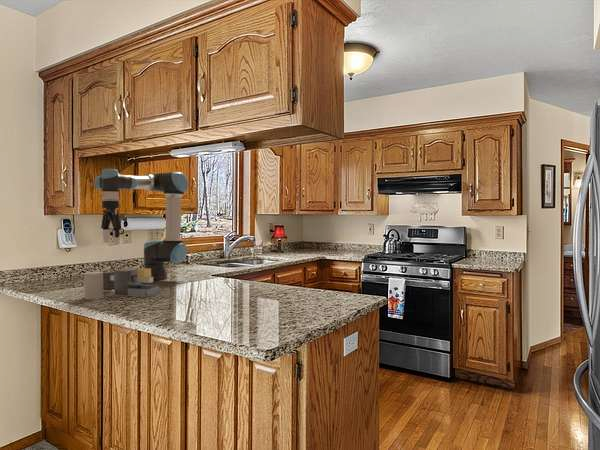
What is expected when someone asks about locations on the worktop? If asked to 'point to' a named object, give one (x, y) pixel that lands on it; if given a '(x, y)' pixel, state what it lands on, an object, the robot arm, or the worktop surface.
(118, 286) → the bearing block
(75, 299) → the worktop surface
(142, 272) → the spacer
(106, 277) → the shaft
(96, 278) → the grey upright block
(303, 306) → the worktop surface
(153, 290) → the tray
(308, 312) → the worktop surface
